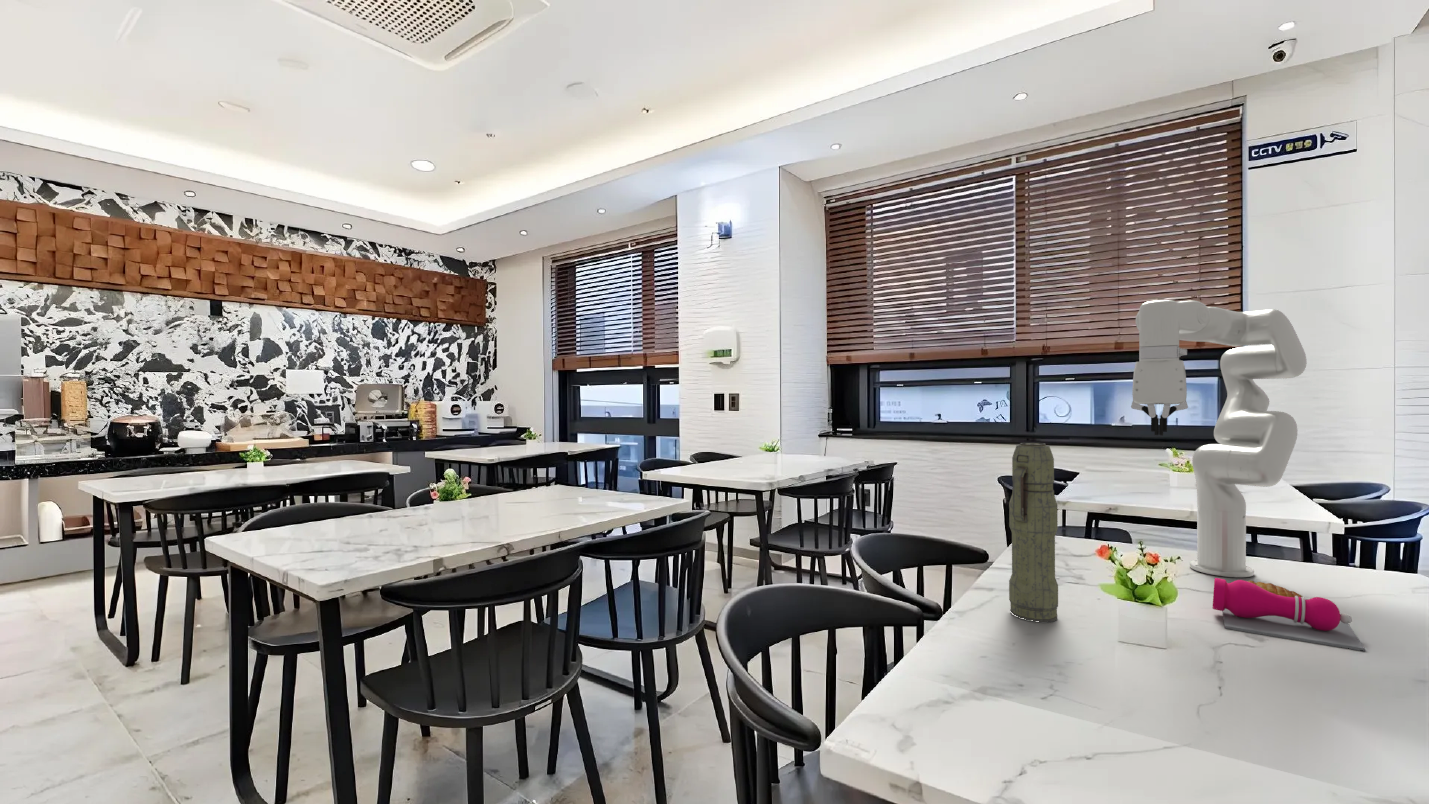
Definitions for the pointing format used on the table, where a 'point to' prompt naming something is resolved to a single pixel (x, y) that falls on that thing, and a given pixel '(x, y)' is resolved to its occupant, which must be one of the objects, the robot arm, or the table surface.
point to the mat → (1294, 630)
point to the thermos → (1033, 534)
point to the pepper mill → (1275, 605)
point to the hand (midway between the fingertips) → (1159, 434)
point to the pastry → (1276, 589)
